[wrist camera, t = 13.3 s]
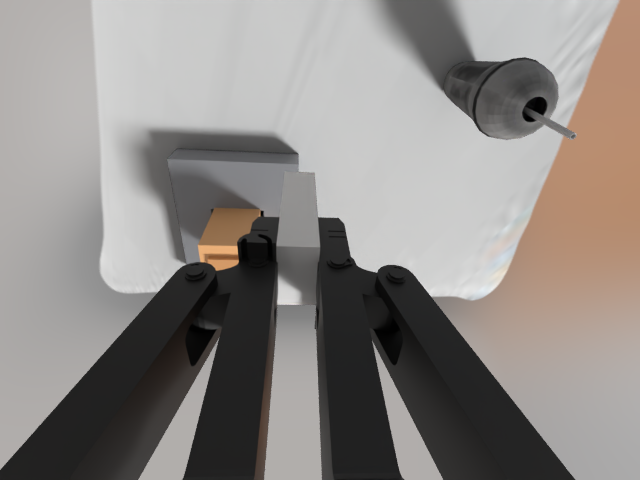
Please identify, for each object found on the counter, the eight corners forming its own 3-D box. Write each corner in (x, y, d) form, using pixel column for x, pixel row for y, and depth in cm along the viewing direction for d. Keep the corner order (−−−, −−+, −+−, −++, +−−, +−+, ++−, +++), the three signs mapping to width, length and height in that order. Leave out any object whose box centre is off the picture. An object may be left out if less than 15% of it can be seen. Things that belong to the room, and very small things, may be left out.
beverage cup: (481, 34, 39) (617, 45, 23) (499, 91, 43) (628, 136, 26) (423, 72, 41) (509, 108, 24) (445, 123, 45) (533, 185, 28)
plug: (218, 199, 47) (196, 248, 37) (261, 200, 48) (251, 249, 37) (223, 241, 51) (204, 296, 41) (263, 242, 51) (254, 296, 41)
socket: (176, 148, 45) (166, 159, 41) (298, 153, 46) (298, 164, 42) (197, 269, 55) (190, 285, 52) (295, 270, 57) (294, 286, 53)
